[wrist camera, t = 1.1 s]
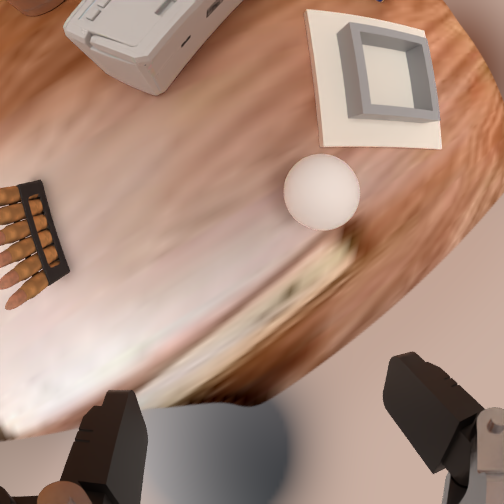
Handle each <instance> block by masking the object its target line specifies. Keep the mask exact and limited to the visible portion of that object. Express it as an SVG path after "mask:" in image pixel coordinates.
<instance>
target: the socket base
mask: <svg viewBox="0 0 504 504" xmlns="http://www.w3.org/2000/svg"><path fill="white" fill-rule="evenodd" d="M304 20H305V26H306V32H307V39H308V46H309V53H310V60H311V68H312V76H313V84H314V93H315V102H316V111H317V121H318V132H319V143H320V147H393V148H418V149H436V150H437V149H442V143H441V131H440V112H439V104H438V97H437V90H436V83H435V77H434V71H433V66H432V61H431V56H430V51H429V46H428V42H427V38H426V37H425V33H424V31H423V30H420V29H416V28H412V27H409V26H405V25H401V24H396V23H392V22H388V21H383V20H378V19H373V18H368V17H362V16H357V15H350V14H344V13H336V12H328V11H319V10H309V9H306V11H305V12H304Z"/></svg>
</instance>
